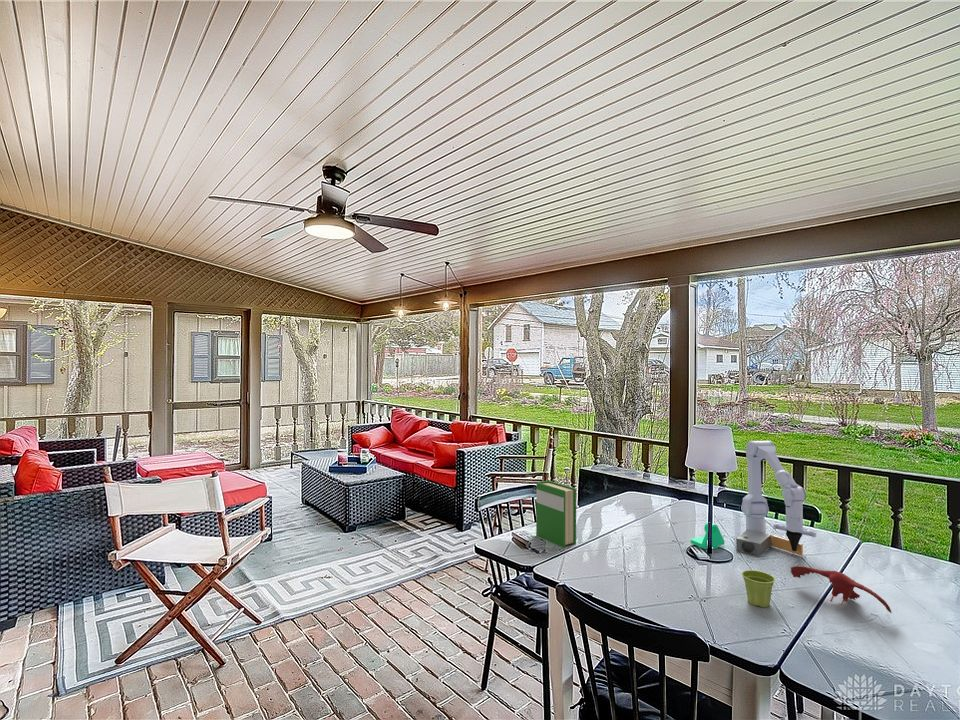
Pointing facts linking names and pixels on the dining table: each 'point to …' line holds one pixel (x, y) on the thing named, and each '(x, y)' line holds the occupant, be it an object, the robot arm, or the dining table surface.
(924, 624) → the dining table surface
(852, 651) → the dining table surface
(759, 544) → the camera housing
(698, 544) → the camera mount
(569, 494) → the hardback book
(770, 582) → the plant pot
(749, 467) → the robot arm
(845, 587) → the red toy dinosaur
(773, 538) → the tan piece
